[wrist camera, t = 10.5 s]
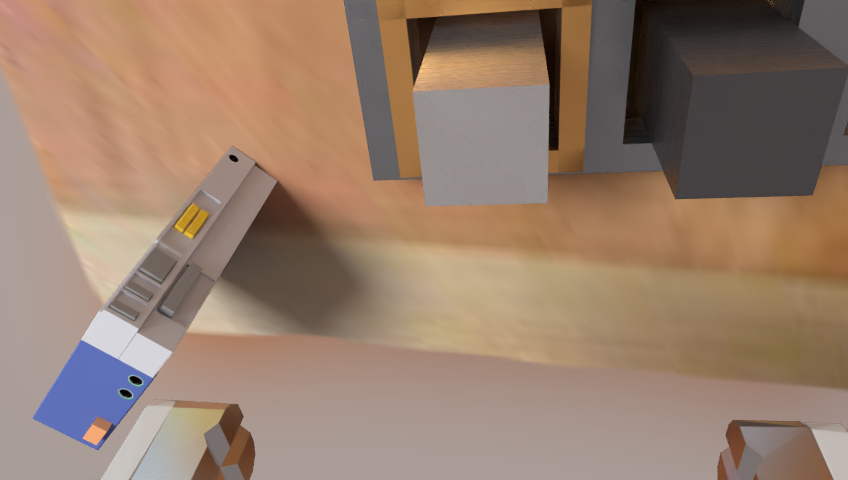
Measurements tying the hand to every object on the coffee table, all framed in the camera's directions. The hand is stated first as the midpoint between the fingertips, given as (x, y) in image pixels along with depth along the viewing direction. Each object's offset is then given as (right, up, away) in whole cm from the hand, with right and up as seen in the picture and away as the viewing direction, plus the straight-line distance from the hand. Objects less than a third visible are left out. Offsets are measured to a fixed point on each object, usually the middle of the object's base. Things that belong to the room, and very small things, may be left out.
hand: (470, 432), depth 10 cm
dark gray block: (+10, +11, +14) cm, 20 cm away
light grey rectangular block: (+2, +11, +15) cm, 19 cm away
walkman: (-11, +5, +21) cm, 25 cm away
